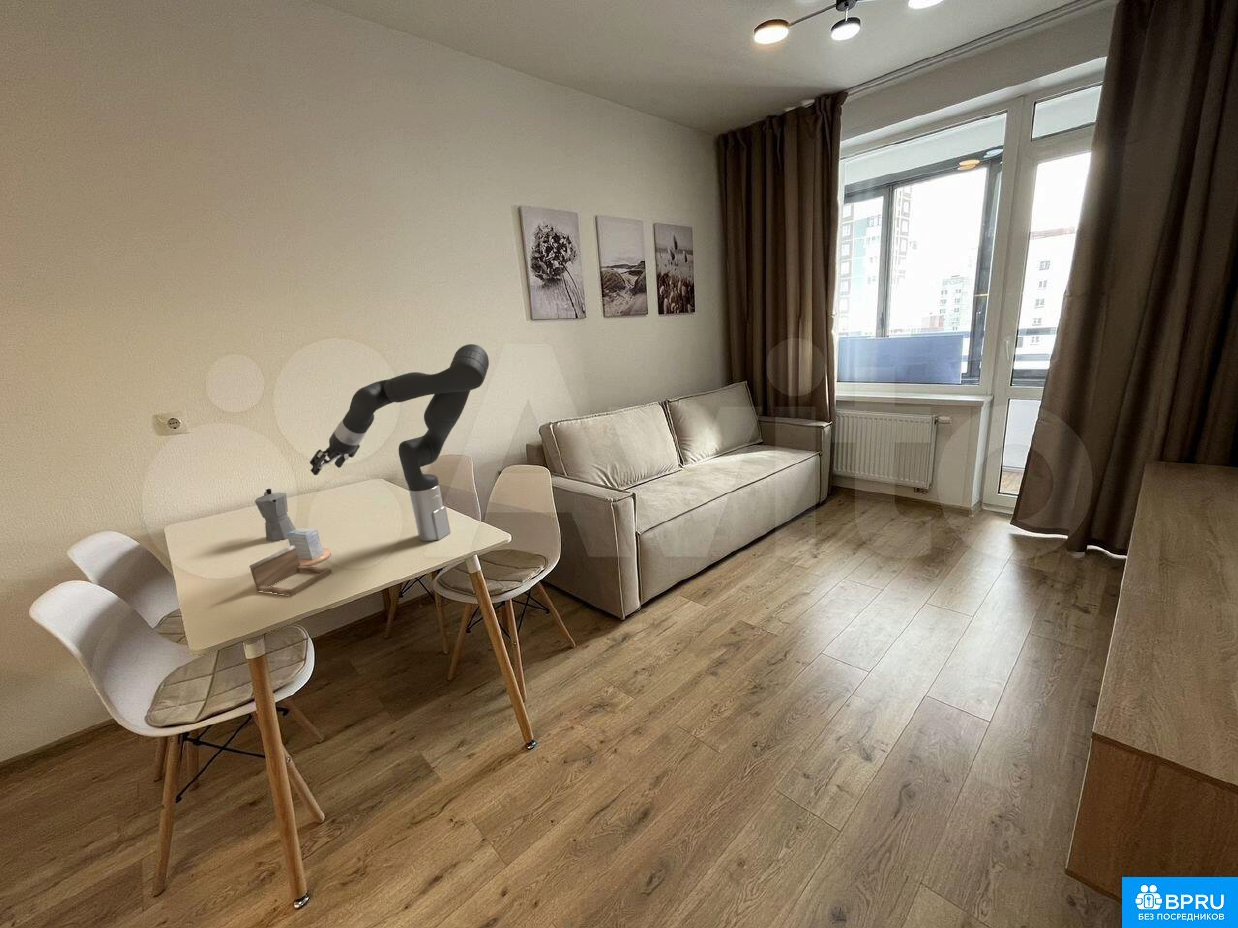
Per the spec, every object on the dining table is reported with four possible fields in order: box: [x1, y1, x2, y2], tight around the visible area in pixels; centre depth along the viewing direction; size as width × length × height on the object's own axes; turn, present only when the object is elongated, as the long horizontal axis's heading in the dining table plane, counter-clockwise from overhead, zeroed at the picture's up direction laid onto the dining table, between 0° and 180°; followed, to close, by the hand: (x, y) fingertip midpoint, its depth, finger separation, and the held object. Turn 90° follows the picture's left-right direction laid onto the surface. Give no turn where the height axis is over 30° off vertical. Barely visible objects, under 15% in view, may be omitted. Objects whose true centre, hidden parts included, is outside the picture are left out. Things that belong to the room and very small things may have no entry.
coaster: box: [299, 547, 332, 567], centre depth 159 cm, size 12×12×1 cm
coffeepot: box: [254, 488, 296, 542], centre depth 179 cm, size 15×9×18 cm, turn 44°
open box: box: [248, 545, 333, 597], centre depth 143 cm, size 13×13×8 cm
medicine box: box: [287, 527, 324, 560], centre depth 157 cm, size 8×4×9 cm, turn 72°
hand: (325, 469), depth 157 cm, fingers open, 8 cm apart
